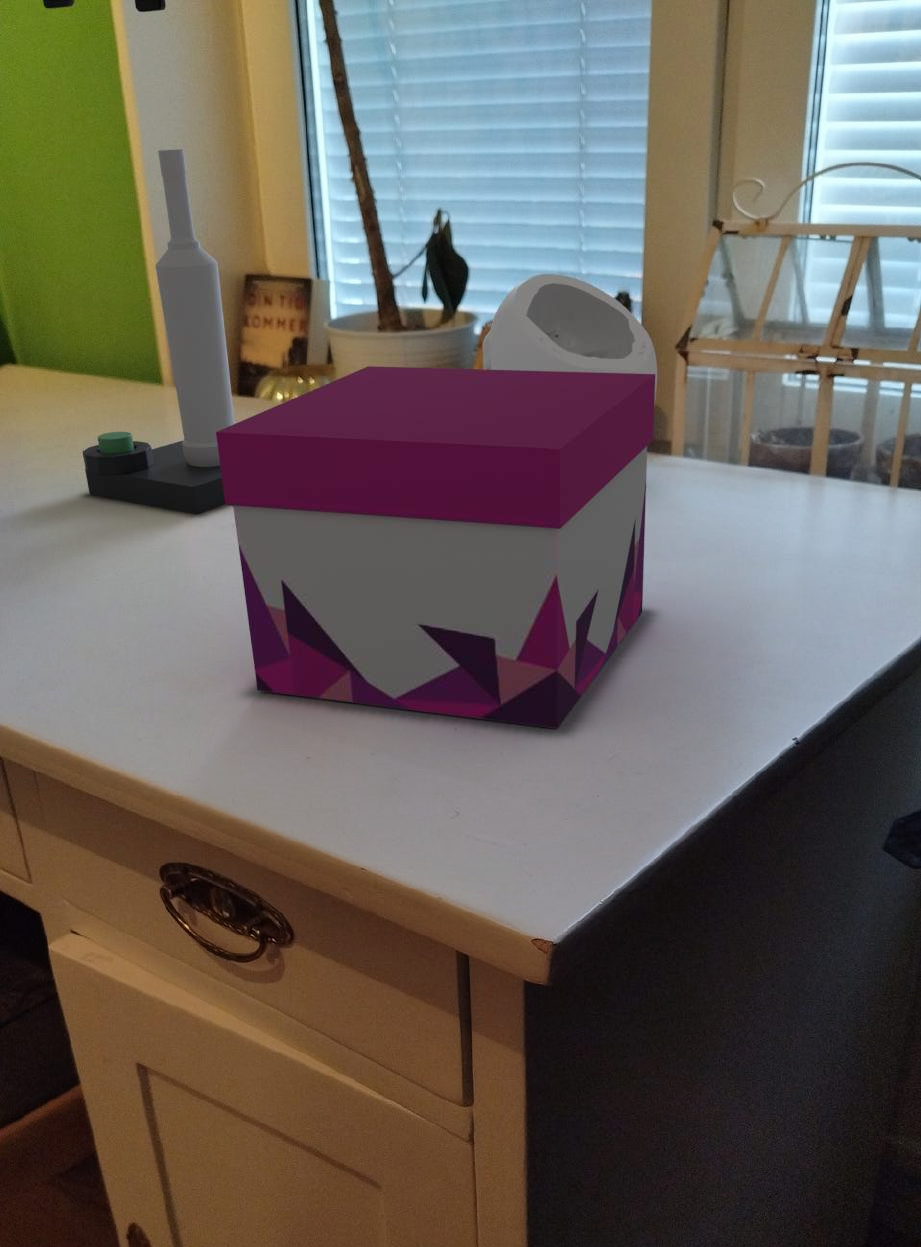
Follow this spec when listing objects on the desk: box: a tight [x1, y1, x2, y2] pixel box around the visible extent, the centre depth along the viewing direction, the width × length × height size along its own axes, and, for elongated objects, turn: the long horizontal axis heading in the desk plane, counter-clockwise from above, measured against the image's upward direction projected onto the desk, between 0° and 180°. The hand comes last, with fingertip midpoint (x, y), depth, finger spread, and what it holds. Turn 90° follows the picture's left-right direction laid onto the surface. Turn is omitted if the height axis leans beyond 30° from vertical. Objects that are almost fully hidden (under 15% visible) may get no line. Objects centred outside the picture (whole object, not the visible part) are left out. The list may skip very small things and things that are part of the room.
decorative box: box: [216, 365, 656, 729], centre depth 75 cm, size 19×19×15 cm
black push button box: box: [82, 440, 226, 515], centre depth 115 cm, size 14×13×4 cm
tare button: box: [97, 431, 134, 454], centre depth 113 cm, size 3×3×2 cm
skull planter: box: [481, 273, 658, 406], centre depth 112 cm, size 14×20×19 cm
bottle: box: [155, 148, 236, 467], centre depth 109 cm, size 5×5×25 cm
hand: (106, 9), depth 106 cm, fingers open, 9 cm apart
